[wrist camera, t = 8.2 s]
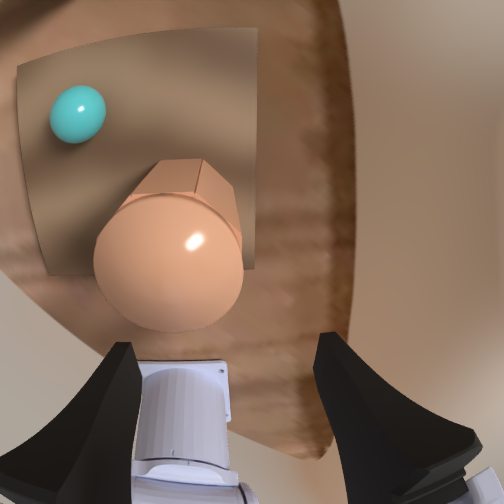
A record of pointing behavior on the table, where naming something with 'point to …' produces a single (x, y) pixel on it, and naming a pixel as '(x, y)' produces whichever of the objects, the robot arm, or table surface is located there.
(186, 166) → the faceted octagonal canister
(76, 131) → the teal ball
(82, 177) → the walnut board
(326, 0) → the table surface
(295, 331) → the table surface
